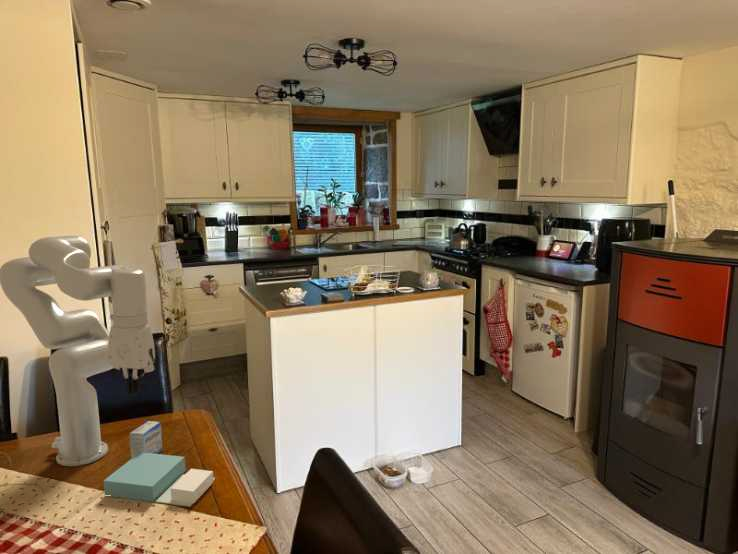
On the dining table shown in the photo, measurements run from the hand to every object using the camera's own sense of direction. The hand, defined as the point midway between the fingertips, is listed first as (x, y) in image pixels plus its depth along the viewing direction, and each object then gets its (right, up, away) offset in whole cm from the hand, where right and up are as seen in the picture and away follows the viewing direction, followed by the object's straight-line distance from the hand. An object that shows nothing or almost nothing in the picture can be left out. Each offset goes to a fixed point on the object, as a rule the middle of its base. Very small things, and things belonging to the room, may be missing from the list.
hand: (135, 392), depth 126 cm
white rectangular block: (+15, -21, -2) cm, 26 cm away
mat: (+13, -24, -1) cm, 27 cm away
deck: (+2, -23, +3) cm, 24 cm away
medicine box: (-4, -22, +16) cm, 27 cm away
